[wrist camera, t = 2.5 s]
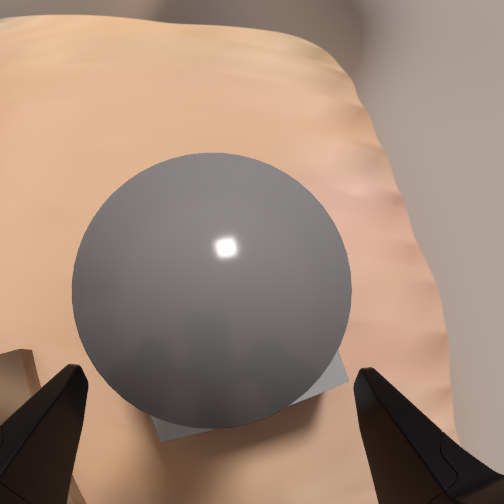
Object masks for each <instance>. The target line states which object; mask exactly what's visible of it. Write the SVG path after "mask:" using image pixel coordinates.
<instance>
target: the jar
mask: <svg viewBox="0 0 504 504" xmlns="http://www.w3.org/2000/svg"><path fill="white" fill-rule="evenodd" d="M351 293H352V287H351V272H350V267H349V262H348V257H347V253H346V250H345V247H344V244H343V241H342V239H341V236H340V234H339V232H338V230H337V228H336V226H335V224H334V222H333V220H332V219H331V217H330V216H329V214H328V213H327V212H326V210H325V209H324V207H323V206H322V205H321V204H320V202H319V201H318V200H317V199H316V198H315V197H314V196H313V195H312V193H310V192H309V191H308V190H307V189H306V188H305V187H304V186H303V185H301V184H300V183H299V182H298V181H296V180H295V179H293V178H292V177H290V176H289V175H287V174H286V173H284V172H283V171H281V170H279V169H277V168H275V167H273V166H271V165H269V164H266V163H263V162H261V161H258V160H255V159H252V158H248V157H244V156H240V155H233V154H225V153H200V154H191V155H185V156H181V157H177V158H173V159H170V160H167V161H164V162H161V163H159V164H156V165H154V166H152V167H150V168H148V169H146V170H144V171H142V172H140V173H139V174H137V175H136V176H134V177H133V178H131V179H130V180H128V181H127V182H126V183H124V184H123V185H122V186H121V187H120V188H118V189H117V190H116V191H115V192H114V193H113V194H112V195H111V196H110V197H109V198H108V199H107V201H106V202H105V203H104V204H103V205H102V206H101V208H100V209H99V210H98V212H97V213H96V215H95V216H94V217H93V219H92V221H91V223H90V224H89V226H88V228H87V230H86V232H85V234H84V236H83V239H82V241H81V244H80V246H79V249H78V253H77V257H76V261H75V265H74V271H73V279H72V304H73V312H74V318H75V323H76V326H77V330H78V333H79V337H80V339H81V341H82V344H83V346H84V348H85V351H86V353H87V355H88V357H89V358H90V360H91V362H92V363H93V365H94V366H95V368H96V370H97V371H98V372H99V374H100V375H101V376H102V377H103V378H104V380H105V381H106V382H107V383H108V385H109V386H111V387H112V388H113V389H114V390H115V391H116V392H117V393H118V394H119V395H120V396H121V397H122V398H124V399H125V400H127V401H128V402H129V403H131V404H132V405H134V406H135V407H137V408H138V409H140V410H142V411H144V412H146V413H147V414H149V415H151V416H153V417H155V418H158V419H161V420H164V421H167V422H170V423H173V424H176V425H181V426H187V427H192V428H205V429H219V428H229V427H237V426H241V425H245V424H249V423H253V422H256V421H259V420H261V419H264V418H266V417H268V416H271V415H273V414H275V413H277V412H279V411H280V410H282V409H284V408H285V407H287V406H289V405H291V404H292V403H293V402H294V401H296V400H297V399H298V398H300V397H301V396H302V395H303V394H305V393H306V392H307V391H308V390H309V389H310V388H311V387H312V386H313V385H314V384H315V383H316V381H317V380H318V379H319V378H320V377H321V376H322V374H323V373H324V371H325V370H326V369H327V367H328V366H329V364H330V363H331V362H332V360H333V358H334V356H335V354H336V352H337V350H338V348H339V346H340V344H341V341H342V339H343V336H344V333H345V330H346V327H347V323H348V318H349V313H350V308H351Z"/></svg>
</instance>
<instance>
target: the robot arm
mask: <svg viewBox="0 0 504 504" xmlns="http://www.w3.org/2000/svg"><path fill="white" fill-rule="evenodd" d="M87 393H88V380H87V378H86V376H85V374H84V372H83V370H82V368H81V366H80V365H75V364H68V365H67V366H66V367H64V368H63V369H62V370H61V371H60V372H59V373H58V374H56V375H55V376H54V377H53V378H52V379H51V380H50V381H49V382H47V383H46V384H45V385H44V386H43V387H42V388H41V389H40V390H38V391H37V392H36V393H35V394H34V395H33V396H32V397H31V398H30V399H28V400H27V401H26V402H25V403H24V404H23V405H22V406H21V407H20V408H19V409H17V410H16V411H15V412H14V413H13V414H12V415H11V416H10V417H9V418H8V419H6V420H5V421H4V422H3V425H2V424H1V425H0V504H67V500H68V494H69V488H70V483H71V477H72V472H73V467H74V462H75V458H76V453H77V448H78V444H79V440H80V435H81V431H82V427H83V421H84V413H85V406H86V399H87ZM354 396H355V402H356V408H357V415H358V422H359V428H360V432H361V436H362V440H363V444H364V447H365V451H366V455H367V459H368V463H369V466H370V470H371V474H372V478H373V482H374V486H375V490H376V494H377V499H378V503H379V504H504V475H502V474H499V473H497V472H495V471H493V470H492V469H490V468H489V467H487V466H486V465H485V464H483V463H481V462H480V461H479V460H478V459H476V458H475V457H473V456H472V455H471V454H469V453H468V452H467V451H465V450H464V449H463V448H461V447H460V446H459V445H458V444H457V443H455V442H454V441H453V440H452V439H451V438H450V437H449V436H447V435H446V434H445V433H444V432H442V430H441V429H440V428H439V427H437V426H436V425H435V424H434V423H433V422H432V421H431V420H430V419H429V418H428V417H427V416H425V415H424V414H423V413H422V412H421V411H420V410H419V409H418V408H417V407H416V406H414V405H413V404H412V403H411V402H410V401H409V400H408V399H407V398H406V397H405V396H404V395H402V394H401V393H400V392H399V391H398V390H397V389H396V388H395V387H394V386H393V385H392V384H390V383H389V382H388V381H387V380H386V379H385V378H384V377H383V376H382V375H381V374H380V373H378V372H377V371H376V370H375V369H374V368H372V367H368V368H361V369H360V370H359V373H358V375H357V378H356V380H355V383H354Z"/></svg>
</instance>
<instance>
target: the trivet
mask: <svg viewBox="0 0 504 504" xmlns="http://www.w3.org/2000/svg"><path fill="white" fill-rule="evenodd" d="M40 389H41V386H40V383H39V379H38V375H37V371H36V367H35V363H34V358H33V354H32V350H26V349H18V350H14V351H10V352H7V353H3V354H0V425H1V424H2V425H3V422H4V421H5V420H6V419H8V418H9V417H10V416H11V415H12V414H13V413H14V412H15V411H16V410H17V409H19V408H20V407H21V406H22V405H23V404H24V403H25V402H26V401H27V400H28V399H30V398H31V397H32V396H33V395H34V394H35V393H36V392H37V391H38V390H40ZM67 504H86V503H85V501H84V499H83V497H82V495H81V493H80V491H79V489H78V486H77V484H76V482H75V480H74V478H73V476H72V477H71V483H70V488H69V494H68V500H67Z"/></svg>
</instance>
